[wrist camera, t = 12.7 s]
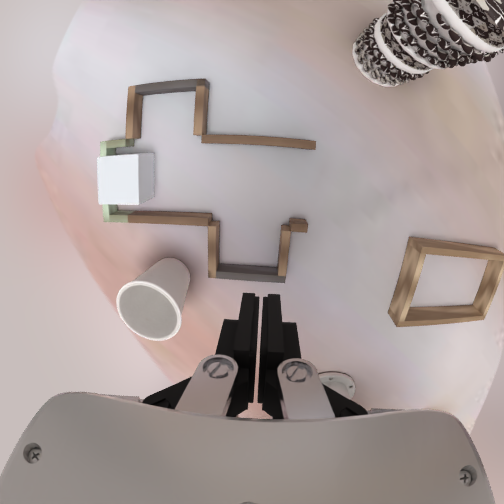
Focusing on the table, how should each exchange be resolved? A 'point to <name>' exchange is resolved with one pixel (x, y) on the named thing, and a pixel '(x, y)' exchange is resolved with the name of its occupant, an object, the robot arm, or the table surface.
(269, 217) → the table surface
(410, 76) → the white patterned cylinder
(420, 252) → the rectangular wooden frame
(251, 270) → the zigzag wooden frame
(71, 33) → the table surface
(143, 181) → the block
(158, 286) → the dixie cup
